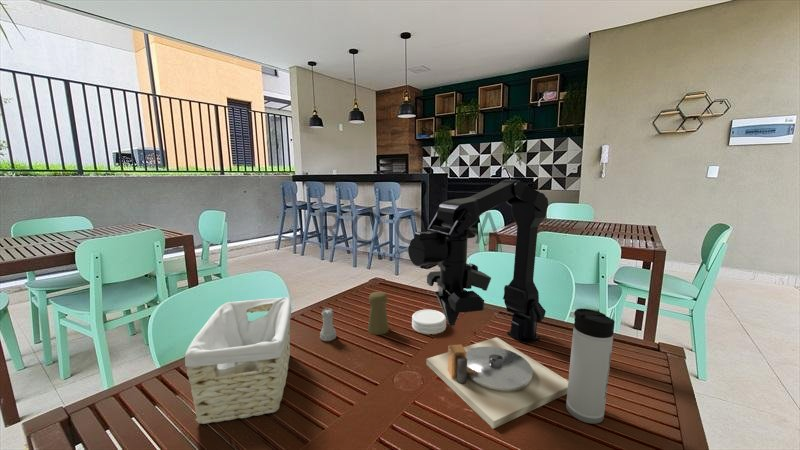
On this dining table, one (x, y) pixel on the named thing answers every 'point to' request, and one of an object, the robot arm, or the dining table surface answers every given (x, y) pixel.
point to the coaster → (428, 321)
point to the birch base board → (494, 403)
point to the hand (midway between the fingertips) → (451, 325)
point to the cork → (378, 314)
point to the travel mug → (589, 365)
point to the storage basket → (240, 360)
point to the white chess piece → (327, 326)
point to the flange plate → (492, 367)
